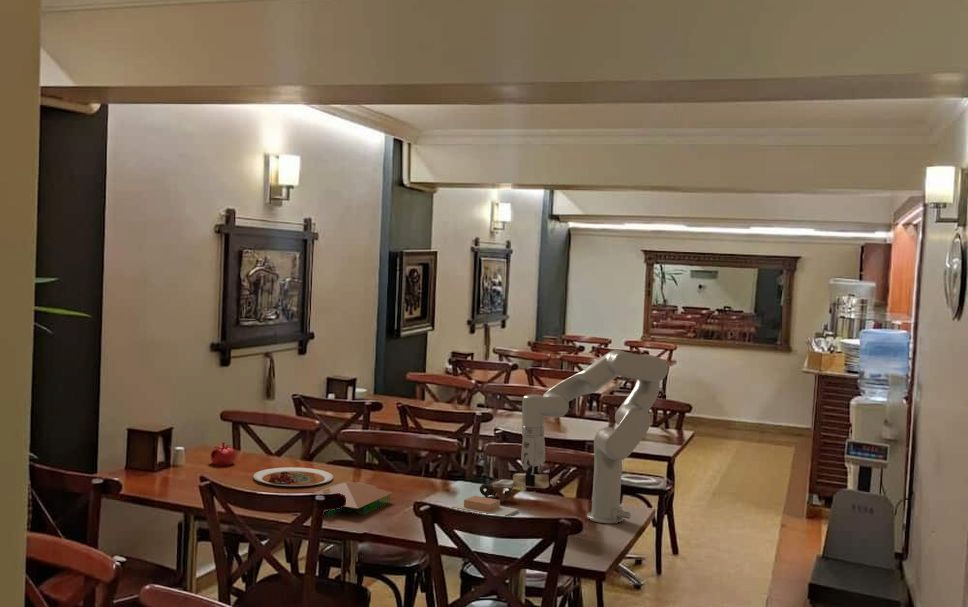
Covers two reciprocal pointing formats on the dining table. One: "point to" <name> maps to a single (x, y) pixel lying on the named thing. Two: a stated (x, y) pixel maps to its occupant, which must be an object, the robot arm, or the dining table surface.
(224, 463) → the pomegranate
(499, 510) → the board
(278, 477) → the plated food
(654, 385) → the robot arm
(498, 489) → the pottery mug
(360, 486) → the house
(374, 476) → the dining table surface
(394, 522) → the dining table surface
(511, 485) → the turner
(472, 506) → the tile
